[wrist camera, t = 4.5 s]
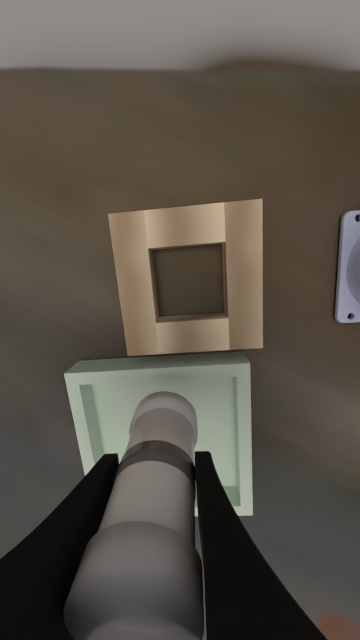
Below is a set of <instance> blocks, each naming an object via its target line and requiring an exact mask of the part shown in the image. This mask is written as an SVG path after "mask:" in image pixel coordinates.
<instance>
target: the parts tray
mask: <svg viewBox="0 0 360 640" xmlns="http://www.w3.org/2000/svg"><path fill="white" fill-rule="evenodd" d="M64 376H65V381H66V386H67V390H68V395H69V400H70V405H71V410H72V415H73V420H74V424H75V429H76V434H77V439H78V444H79V449H80V454H81V459H82V463H83V468H84V473H85V476H86V474H87V473H88V472H89V471H90V470H91V469H92V467H93V466H94V465H95V464H96V463H97V462H98V460H99V459H100V458H101V457H102V456H103V455H104V454H112V453H118V459H119V464H120V462H121V459H122V457H123V455H124V453H125V450H126V447H127V445H128V442H129V439H130V435H129V428H130V424H131V421H132V418H133V415H134V413H135V410H136V408H137V406H138V404H139V403H140V401H141V400H142V399H143V398H145V397H146V396H148V395H150V394H152V393H155V392H161V391H168V392H173V393H177V394H179V395H181V396H183V397H184V398H186V399H187V400H188V401H189V402H190V403H191V404H192V405H193V407H194V409H195V411H196V414H197V426H198V438H197V443H196V445H195V447H194V466H195V451H209V452H210V453H211V456H212V460H213V463H214V466H215V469H216V471H217V474H218V476H219V479H220V481H221V483H222V486H223V488H224V490H225V492H226V494H227V496H228V498H229V500H230V502H231V504H232V506H233V508H234V510H235V512H236V514H237V515H238V516H243V515H253V500H252V441H251V382H250V362H249V360H248V359H247V357H246V355H245V353H244V352H243V351H235V352H218V353H201V354H185V355H168V356H151V357H134V358H117V359H100V360H83V361H78V362H77V363H76V364H75V365H73V366H72V367H71V368H70V369H69V370H68V371H67V372H65V373H64ZM195 516H198V509H197V493H196V499H195Z"/></svg>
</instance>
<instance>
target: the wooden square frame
mask: <svg viewBox="0 0 360 640" xmlns="http://www.w3.org/2000/svg"><path fill="white" fill-rule="evenodd" d="M108 218H109V225H110V232H111V239H112V246H113V254H114V261H115V268H116V275H117V283H118V290H119V297H120V304H121V311H122V319H123V326H124V333H125V340H126V347H127V355H128V356H137V355H154V354H171V353H188V352H204V351H221V350H238V349H255V348H263V234H262V199H255V200H244V201H234V202H224V203H214V204H204V205H194V206H184V207H173V208H163V209H153V210H143V211H133V212H123V213H113V214H108ZM216 244H222V265H223V289H224V312H216V313H202V314H188V315H173V316H160V313H159V303H158V294H157V284H156V274H155V264H154V255H153V250H159V249H171V248H182V247H193V246H205V245H216Z"/></svg>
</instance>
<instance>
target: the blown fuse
mask: <svg viewBox="0 0 360 640" xmlns="http://www.w3.org/2000/svg"><path fill="white" fill-rule="evenodd" d="M129 435H130V439H129V442H128V445H127V447H126V450H125V453H124V455H123V457H122V459H121V462H120V464H119V467H118V470H117V473H116V476H115V479H114V482H113V486H112V492H111V495H110V498H109V501H108V504H107V507H106V509H105V512H104V515H103V518H102V521H101V524H100V527H99V530H98V533H96V534H95V535H94V536H93V537H92V538H91V539H90V541H89V542H88V544H87V546H86V548H85V551H84V553H83V556H82V559H81V562H80V564H79V567H78V570H77V573H76V575H75V578H74V581H73V584H72V586H71V589H70V592H69V595H68V597H67V600H66V603H65V606H64V622H65V625H66V627H67V629H68V631H69V633H70V634H71V636H72V637H73V638H74V639H75V640H202V637H203V633H204V610H203V579H202V563H201V559H200V556H199V554H198V552H197V550H196V549H195V499H196V478H195V466H194V447H195V445H196V443H197V438H198V426H197V414H196V411H195V409H194V407H193V405H192V404H191V403H190V402H189V401H188V400H187V399H186V398H184V397H183V396H181V395H179V394H177V393H173V392H168V391H161V392H155V393H152V394H150V395H148V396H146V397H145V398H143V399H142V400H141V401H140V403H139V404H138V406H137V408H136V410H135V413H134V415H133V418H132V421H131V424H130V428H129Z"/></svg>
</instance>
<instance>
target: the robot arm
mask: <svg viewBox="0 0 360 640" xmlns="http://www.w3.org/2000/svg"><path fill="white" fill-rule="evenodd" d="M356 215H358V216H359V220H358V222H356V221H355V216H356ZM349 313H351V317H350V318H347V316H348V314H349ZM335 319H336V321H338V322H340V323H352V322H360V210H357V211H350V212H346V213H345V214H343V216H342V218H341V227H340V242H339V258H338V273H337V289H336V304H335ZM118 467H119V459H118V453H112V454H104V455H103V456H102V457H101V458H100V459H99V460H98V462H97V463H96V464H95V465H94V466H93V467H92V469H91V470H90V471H89V472H88V473H87V474H86V476H85V477H84V478H83V479H82V480H81V481H80V482H79V484H78V485H77V486H76V487H75V488H74V489H73V490H72V491H71V493H70V494H69V495H68V496H67V497H66V498H65V499H64V500H63V501H62V502H61V503H60V504H59V505H58V506H57V507H56V508H55V509H54V511H53V512H52V513H51V514H50V515H49V516H48V517H47V518H46V519H45V520H44V521H43V522H42V523H41V524H40V525H39V526H38V527H36V528H35V529H34V530H33V531H32V532H31V533H30V534H29V535H28V536H27V537H26V538H25V539H23V540H22V541H21V542H20V543H19V544H18V545H17V546H16V547H14V548H13V549H12V550H11V551H10V552H8V553H7V554H6V555H5V556H4V557H2V558H1V559H0V640H75V639H74V638H73V637H72V636H71V634H70V633H69V631H68V629H67V627H66V625H65V622H64V606H65V603H66V600H67V597H68V595H69V592H70V589H71V586H72V584H73V581H74V578H75V575H76V573H77V570H78V567H79V564H80V562H81V559H82V556H83V553H84V551H85V548H86V546H87V544H88V542H89V541H90V539H91V538H92V537H93V536H94V535H95V534H96V533H98V530H99V527H100V524H101V521H102V518H103V515H104V512H105V509H106V507H107V504H108V501H109V498H110V495H111V492H112V486H113V482H114V479H115V476H116V473H117V470H118ZM195 478H196V493H197V509H198V521H199V530H200V539H201V548H202V557H203V566H204V578H205V604H206V630H207V640H327V639H326V638H325V636H324V635H323V634H322V633H321V632H320V631H319V629H318V628H317V627H316V626H315V624H314V623H313V622H312V621H311V620H310V618H309V617H308V616H307V615H306V614H305V612H304V611H303V610H302V609H301V607H300V606H299V605H298V603H297V602H296V601H295V600H294V598H293V597H292V596H291V595H290V593H289V592H288V591H287V589H286V588H285V587H284V585H283V584H282V582H281V581H280V580H279V578H278V577H277V576H276V574H275V573H274V571H273V570H272V569H271V567H270V566H269V565H268V563H267V562H266V560H265V559H264V557H263V556H262V554H261V553H260V551H259V550H258V548H257V547H256V545H255V544H254V542H253V541H252V539H251V537H250V536H249V534H248V533H247V531H246V529H245V528H244V526H243V524H242V522H241V521H240V519H239V517H238V515H237V514H236V512H235V510H234V508H233V506H232V504H231V502H230V500H229V498H228V496H227V494H226V492H225V490H224V488H223V486H222V483H221V481H220V479H219V476H218V474H217V471H216V469H215V466H214V463H213V460H212V456H211V453H210V452H209V451H195Z"/></svg>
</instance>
